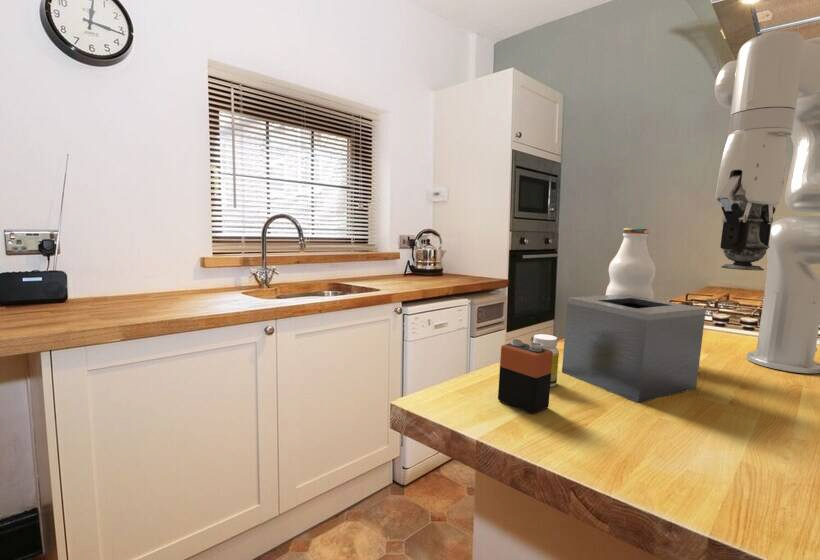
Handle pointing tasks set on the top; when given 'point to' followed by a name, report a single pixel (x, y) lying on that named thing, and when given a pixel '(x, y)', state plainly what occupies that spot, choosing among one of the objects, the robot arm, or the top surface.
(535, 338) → the supplement bottle
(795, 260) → the robot arm
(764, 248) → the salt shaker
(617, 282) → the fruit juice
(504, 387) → the battery
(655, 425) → the top surface
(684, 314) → the grey hollow block
